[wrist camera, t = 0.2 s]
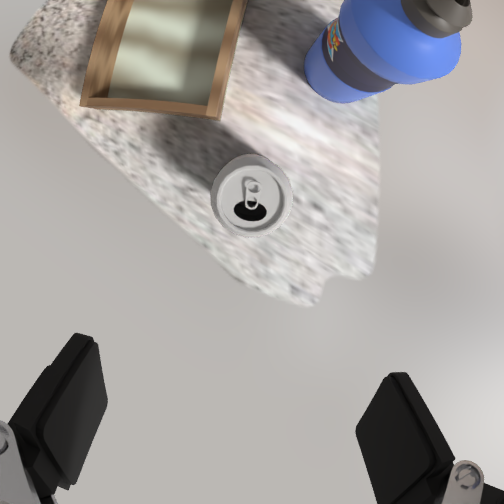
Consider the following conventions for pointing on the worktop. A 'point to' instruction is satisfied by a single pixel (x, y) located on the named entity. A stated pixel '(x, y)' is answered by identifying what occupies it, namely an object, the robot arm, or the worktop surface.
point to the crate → (164, 56)
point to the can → (251, 196)
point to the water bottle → (385, 46)
